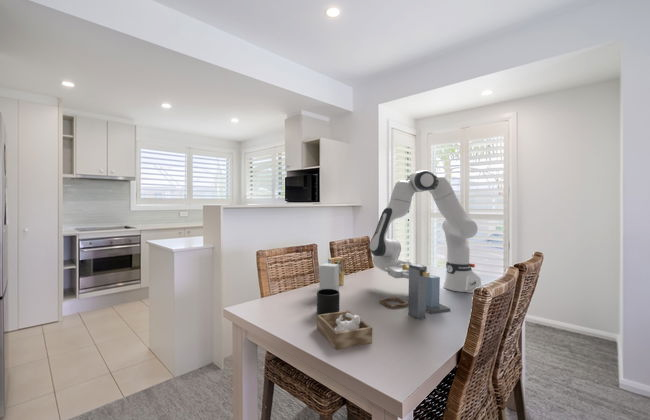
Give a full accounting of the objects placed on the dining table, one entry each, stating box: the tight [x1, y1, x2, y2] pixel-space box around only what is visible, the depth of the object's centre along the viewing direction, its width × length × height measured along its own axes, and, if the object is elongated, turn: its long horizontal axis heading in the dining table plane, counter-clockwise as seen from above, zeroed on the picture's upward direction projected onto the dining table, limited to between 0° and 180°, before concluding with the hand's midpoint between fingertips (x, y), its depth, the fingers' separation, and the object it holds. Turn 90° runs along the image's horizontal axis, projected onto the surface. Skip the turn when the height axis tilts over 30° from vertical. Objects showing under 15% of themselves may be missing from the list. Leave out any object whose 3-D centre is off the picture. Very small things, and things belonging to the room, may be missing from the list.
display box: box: [316, 310, 373, 350], centre depth 106 cm, size 13×17×5 cm
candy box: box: [327, 256, 345, 286], centre depth 170 cm, size 9×4×15 cm, turn 129°
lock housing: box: [407, 263, 428, 320], centre depth 124 cm, size 4×6×21 cm, turn 23°
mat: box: [426, 303, 451, 315], centre depth 135 cm, size 10×12×1 cm
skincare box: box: [318, 262, 340, 292], centre depth 151 cm, size 8×7×16 cm
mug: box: [316, 289, 341, 315], centre depth 128 cm, size 9×12×9 cm
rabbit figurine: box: [334, 313, 361, 332], centre depth 104 cm, size 12×8×10 cm, turn 89°
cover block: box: [426, 274, 441, 308], centre depth 135 cm, size 4×4×13 cm
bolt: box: [402, 264, 431, 277], centre depth 125 cm, size 2×15×2 cm, turn 23°
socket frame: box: [379, 296, 408, 310], centre depth 139 cm, size 10×10×1 cm
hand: (418, 277), depth 146 cm, fingers open, 8 cm apart
